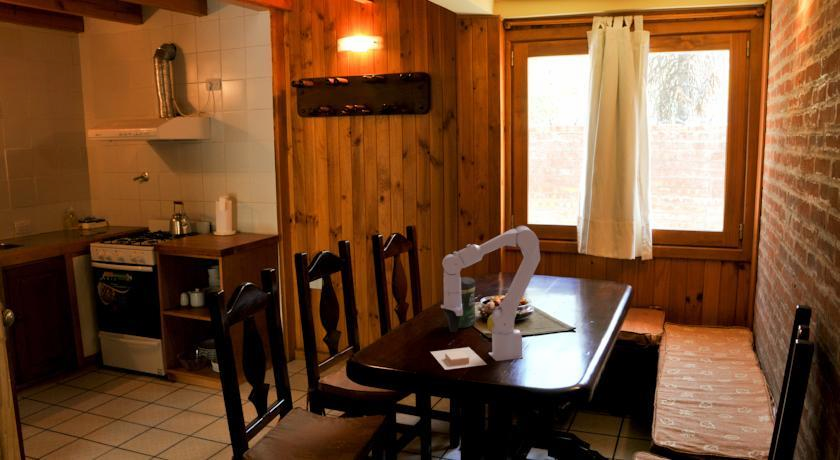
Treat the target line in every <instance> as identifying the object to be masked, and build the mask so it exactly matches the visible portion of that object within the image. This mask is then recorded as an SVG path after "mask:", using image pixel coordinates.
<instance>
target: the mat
mask: <svg viewBox="0 0 840 460" xmlns="http://www.w3.org/2000/svg"><path fill="white" fill-rule="evenodd" d="M455 351H463V352H464V353H465V354H466V355H467V356H468V357H469V363H467V364H459V365H451V364H450V363H449V362H448V361H447V360H446V359H445V353H447V352H455ZM430 353H431V355H432V356H433V357H434V358H435V359H436V360H437V362H438V364H440V365H441V367H442V368H443V369H444V370H446V371H447V370H448V371H449V370H454V369H461V368H470V367H478V366H485V365H488V364H487V363H486V362H485V361H484V360H483V359H482V358H481V357H480V355H478V354H477V353H476V352H475V351H474V350H473V349H471V347H469V346H467V347H460V348H452V349H444V350H443V349H442V350H436V351H435V350H434V351H430Z"/></svg>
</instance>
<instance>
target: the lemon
mask: <svg viewBox="0 0 840 460" xmlns="http://www.w3.org/2000/svg"><path fill="white" fill-rule="evenodd" d="M486 324H487V329H488V330H489V331H490V333H492V328H493V327H494V325H495V324H494V323H493V321H492V314H490V315H489V316H488V318H487V322H486Z"/></svg>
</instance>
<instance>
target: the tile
mask: <svg viewBox="0 0 840 460" xmlns="http://www.w3.org/2000/svg"><path fill="white" fill-rule="evenodd" d="M445 359H446V360H447V361H448V362H449V363H450V364H451V365H459V364H467V363H469V357H468V356H467V355H466V354H465V353H464V352H463V351H455V352H447V353H445Z"/></svg>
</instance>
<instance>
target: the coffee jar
mask: <svg viewBox="0 0 840 460" xmlns="http://www.w3.org/2000/svg"><path fill="white" fill-rule="evenodd" d="M475 290H476V282H475V279H474V278H473V277H468V276H463V277H461V300H462V310H463V315H462V316H461V319H460V321H459V326H458V329H462V328H470V327H471V326H473V324H474V325H475V324H476V322H477V320H476V305H475Z"/></svg>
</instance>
